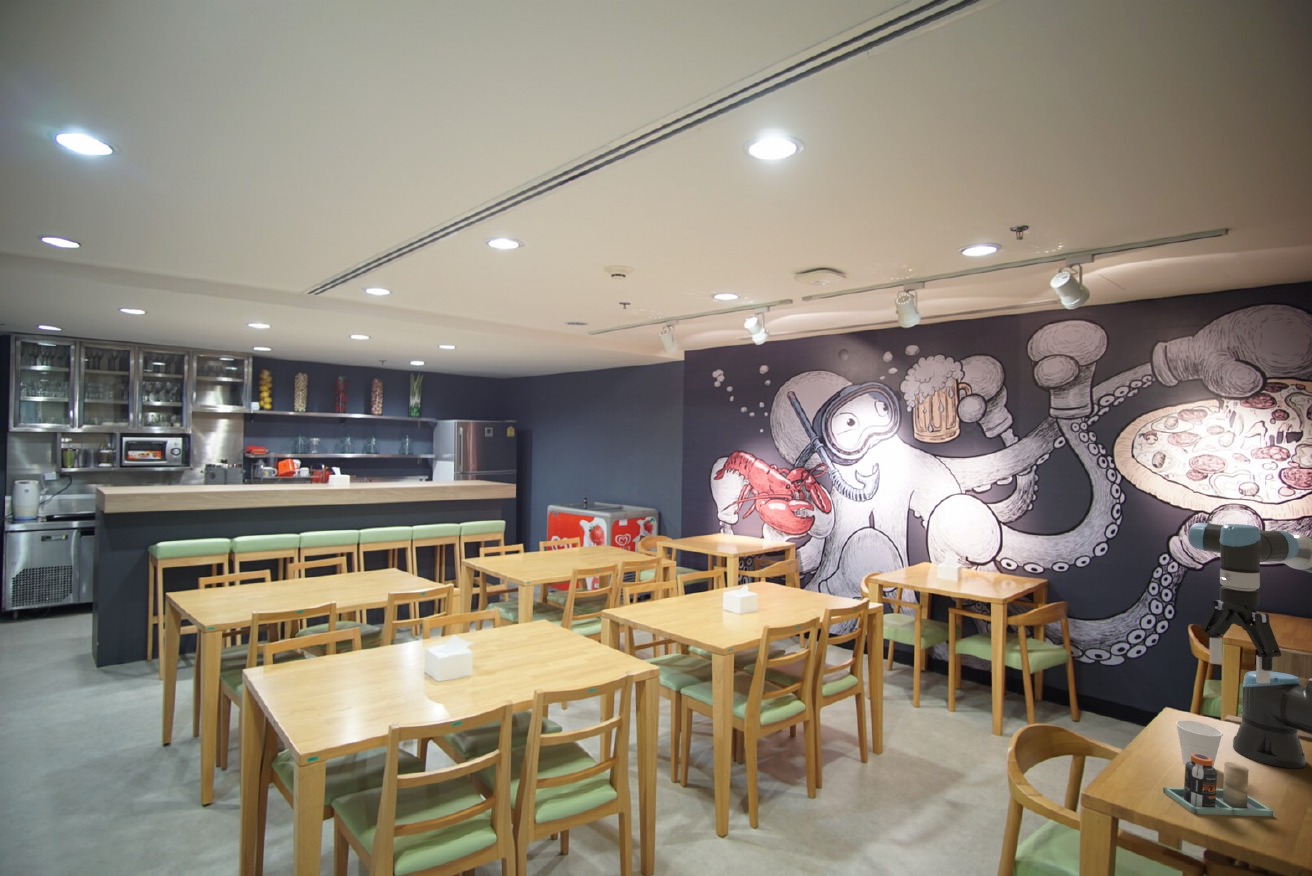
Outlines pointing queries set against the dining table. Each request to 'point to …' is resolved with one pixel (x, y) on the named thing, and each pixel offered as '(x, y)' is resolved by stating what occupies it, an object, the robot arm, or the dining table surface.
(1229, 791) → the beech dowel
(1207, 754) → the cup
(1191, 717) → the dining table surface
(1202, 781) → the pill bottle
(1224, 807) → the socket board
